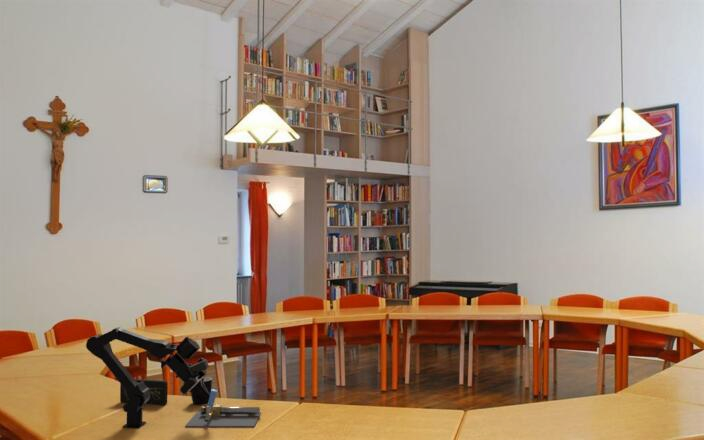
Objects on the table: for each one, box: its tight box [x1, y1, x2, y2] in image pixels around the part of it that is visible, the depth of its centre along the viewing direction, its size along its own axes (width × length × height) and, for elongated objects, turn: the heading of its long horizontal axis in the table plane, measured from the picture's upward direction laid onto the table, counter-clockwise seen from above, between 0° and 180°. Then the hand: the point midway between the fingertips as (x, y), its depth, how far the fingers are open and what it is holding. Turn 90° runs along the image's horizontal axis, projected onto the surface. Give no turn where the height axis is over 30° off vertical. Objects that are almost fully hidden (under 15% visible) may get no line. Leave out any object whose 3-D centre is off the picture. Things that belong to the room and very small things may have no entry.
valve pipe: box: [199, 403, 261, 417], centre depth 241 cm, size 23×12×4 cm, turn 90°
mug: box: [190, 376, 213, 406], centre depth 265 cm, size 12×9×10 cm
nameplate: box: [119, 378, 168, 406], centre depth 265 cm, size 21×2×10 cm, turn 79°
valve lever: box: [204, 388, 218, 422], centre depth 234 cm, size 2×2×12 cm
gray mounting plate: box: [184, 411, 262, 429], centre depth 241 cm, size 26×18×1 cm
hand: (209, 397), depth 235 cm, fingers closed, pressing on valve lever
